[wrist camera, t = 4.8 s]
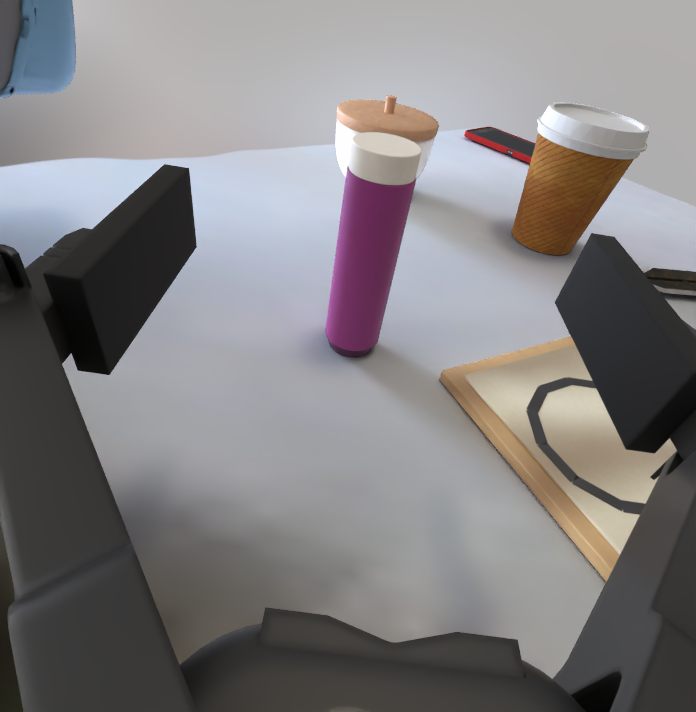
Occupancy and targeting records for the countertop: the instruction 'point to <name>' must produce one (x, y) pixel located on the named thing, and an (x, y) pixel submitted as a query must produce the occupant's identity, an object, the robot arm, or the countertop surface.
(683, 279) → the knife
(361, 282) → the dot marker
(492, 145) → the cell phone
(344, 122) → the lidded sugar bowl
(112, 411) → the countertop surface
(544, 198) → the disposable coffee cup
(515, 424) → the drawing board
